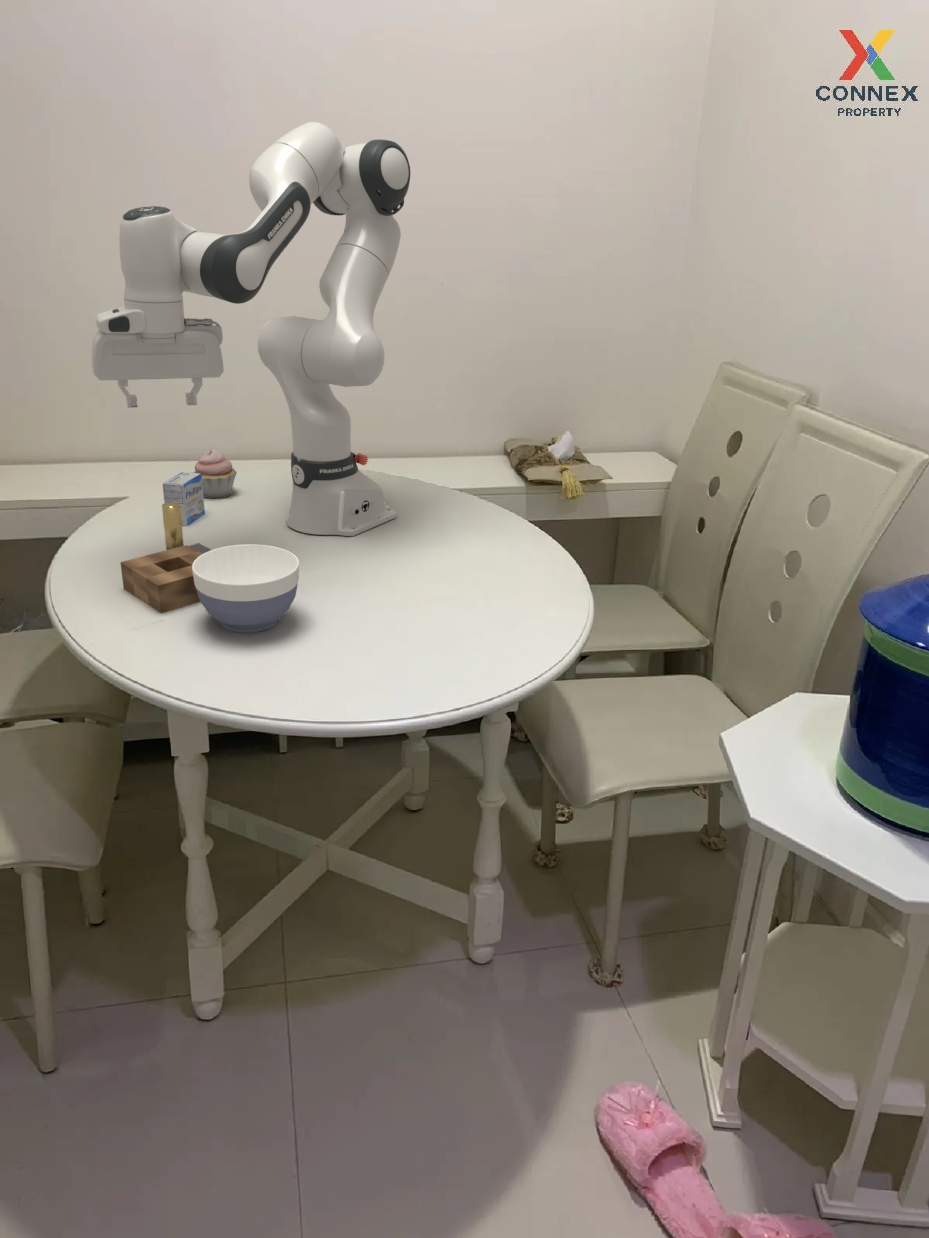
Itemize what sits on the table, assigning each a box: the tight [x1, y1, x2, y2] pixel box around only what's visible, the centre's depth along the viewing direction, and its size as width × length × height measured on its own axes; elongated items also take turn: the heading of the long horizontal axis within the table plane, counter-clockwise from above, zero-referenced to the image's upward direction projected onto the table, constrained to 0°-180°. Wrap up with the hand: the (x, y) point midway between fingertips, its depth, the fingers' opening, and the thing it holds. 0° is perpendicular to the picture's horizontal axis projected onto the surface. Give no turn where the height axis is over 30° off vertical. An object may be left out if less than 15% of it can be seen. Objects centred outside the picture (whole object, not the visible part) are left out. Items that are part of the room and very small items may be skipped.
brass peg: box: [161, 502, 185, 551], centre depth 162 cm, size 3×3×10 cm
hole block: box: [120, 544, 202, 614], centre depth 151 cm, size 12×12×5 cm
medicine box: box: [162, 471, 206, 527], centre depth 180 cm, size 8×4×9 cm, turn 168°
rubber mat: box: [188, 542, 212, 554], centre depth 165 cm, size 10×8×1 cm
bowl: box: [192, 543, 300, 634], centre depth 142 cm, size 16×16×10 cm
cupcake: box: [192, 447, 238, 499], centre depth 195 cm, size 9×9×10 cm
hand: (162, 405), depth 152 cm, fingers open, 8 cm apart
